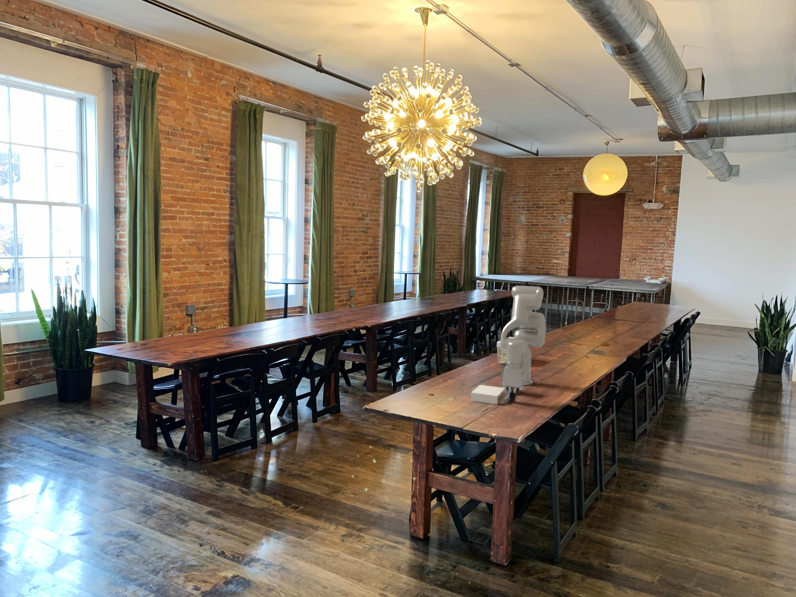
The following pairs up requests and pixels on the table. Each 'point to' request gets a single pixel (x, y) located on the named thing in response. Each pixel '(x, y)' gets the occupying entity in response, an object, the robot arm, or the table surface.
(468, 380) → the table surface
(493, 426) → the table surface
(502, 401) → the tan flat board
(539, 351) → the table surface
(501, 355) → the storage basket
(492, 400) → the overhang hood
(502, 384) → the coffee box
